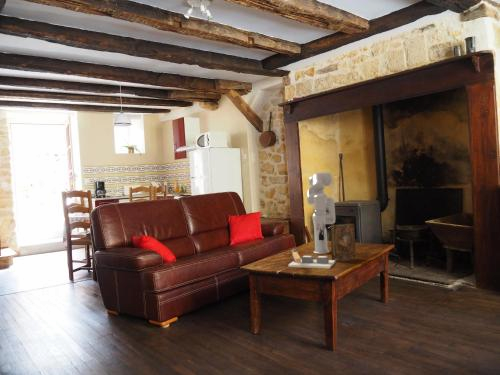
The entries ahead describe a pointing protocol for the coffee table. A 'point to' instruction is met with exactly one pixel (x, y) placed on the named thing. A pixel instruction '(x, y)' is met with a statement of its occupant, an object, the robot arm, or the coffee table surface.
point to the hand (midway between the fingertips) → (321, 240)
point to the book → (343, 242)
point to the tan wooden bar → (296, 256)
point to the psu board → (313, 262)
